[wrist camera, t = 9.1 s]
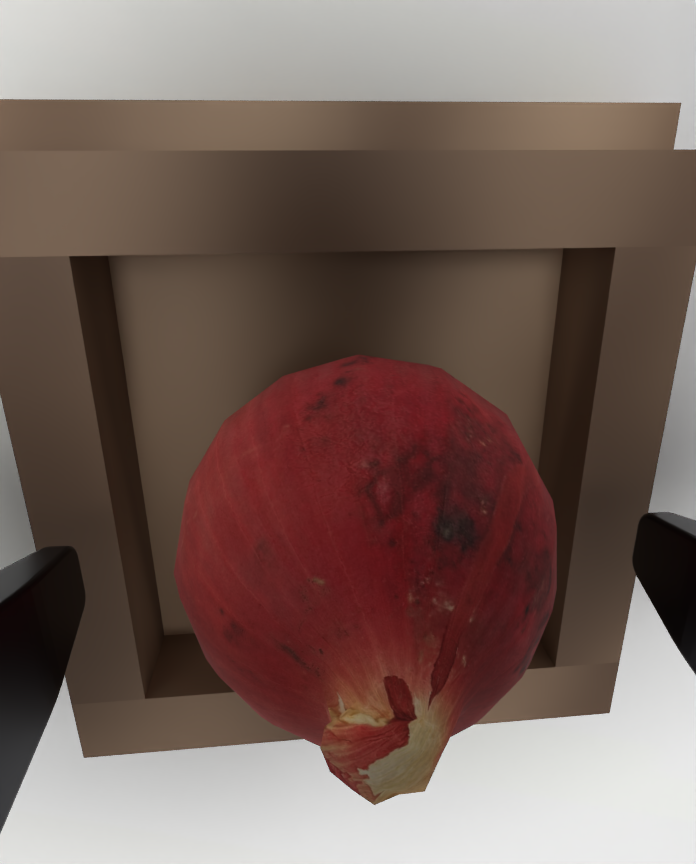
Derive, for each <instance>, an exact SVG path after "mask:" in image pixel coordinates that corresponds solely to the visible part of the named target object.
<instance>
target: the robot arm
mask: <svg viewBox="0 0 696 864" xmlns="http://www.w3.org/2000/svg"><path fill="white" fill-rule="evenodd" d="M632 564H633V568H634V571H635V573H636V575H637V577H638V579H639V581H640V582H641V584H642V586H643V588H644V589H645V591H646V593H647V595H648V597H649V598H650V600H651V602H652V604H653V606H654V607H655V609H656V611H657V613H658V614H659V616H660V618H661V620H662V622H663V623H664V625H665V627H666V629H667V630H668V632H669V634H670V636H671V638H672V639H673V641H674V643H675V644H676V646H677V648H678V649H679V651H680V652H681V654H682V655H683V657H684V658H685V660H686V661H687V663H688V664H689V666H690V667H691V669H692V670H693V672H694V673H695V674H696V521H695V520H692V519H689V518H686V517H683V516H680V515H677V514H674V513H670V512H658V513H647V514H644V515H643V516H642V517H641V518H640V520H639V523H638V528H637V533H636V539H635V544H634V550H633V555H632ZM85 599H86V595H85V588H84V583H83V578H82V573H81V568H80V563H79V558H78V554H77V552H76V550H75V548H73V547H72V546H50V547H44V548H42V549H40V550H38V551H36V552H34V553H32V554H30V555H28V556H27V557H25V558H23V559H21V560H19V561H17V562H15V563H13V564H11V565H9V566H7V567H5V568H4V569H2V570H0V833H1V831H2V828H3V826H4V824H5V821H6V819H7V817H8V814H9V812H10V810H11V807H12V805H13V802H14V800H15V798H16V795H17V793H18V791H19V788H20V786H21V784H22V781H23V779H24V777H25V774H26V772H27V769H28V767H29V765H30V762H31V760H32V758H33V755H34V753H35V751H36V748H37V746H38V743H39V741H40V739H41V736H42V734H43V732H44V729H45V727H46V725H47V722H48V720H49V718H50V715H51V713H52V710H53V708H54V705H55V703H56V700H57V697H58V694H59V691H60V688H61V685H62V682H63V679H64V675H65V672H66V668H67V665H68V662H69V658H70V655H71V651H72V648H73V645H74V641H75V638H76V635H77V631H78V628H79V624H80V621H81V618H82V614H83V611H84V607H85Z"/></svg>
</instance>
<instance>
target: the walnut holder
mask: <svg viewBox="0 0 696 864" xmlns="http://www.w3.org/2000/svg"><path fill="white" fill-rule="evenodd" d="M680 107H681V103H583V102H393V101H204V100H14V99H0V395H1V399H2V403H3V408H4V412H5V416H6V421H7V425H8V429H9V434H10V438H11V442H12V447H13V451H14V456H15V460H16V464H17V469H18V473H19V477H20V482H21V486H22V490H23V495H24V499H25V503H26V508H27V512H28V516H29V521H30V525H31V530H32V534H33V538H34V543H35V547H36V551H38V550H40V549H42V548H44V547H50V546H72V547H73V548H75V550H76V552H77V554H78V558H79V563H80V568H81V573H82V578H83V583H84V588H85V595H86V599H85V607H84V611H83V614H82V618H81V621H80V624H79V628H78V631H77V635H76V638H75V641H74V645H73V648H72V651H71V655H70V658H69V662H68V665H67V668H66V672H65V677H66V682H67V686H68V691H69V695H70V699H71V704H72V708H73V712H74V717H75V721H76V725H77V730H78V734H79V738H80V743H81V747H82V751H83V756H84V758H87V757H98V756H110V755H122V754H134V753H145V752H157V751H169V750H181V749H192V748H204V747H216V746H228V745H239V744H251V743H263V742H275V741H286V740H298V739H303V738H301V737H299V736H297V735H294V734H292V733H290V732H288V731H286V730H283V729H281V728H279V727H277V726H275V725H273V724H271V723H270V722H268V721H267V720H265V719H264V718H262V717H261V716H259V715H258V714H257V713H256V712H255V711H254V710H253V709H252V708H251V707H250V706H249V705H248V704H247V703H246V702H245V701H244V700H243V699H242V698H241V697H240V696H239V695H238V694H237V693H236V692H235V691H233V690H232V689H231V688H230V687H229V686H228V685H227V684H226V683H225V682H224V681H223V680H222V679H221V678H220V677H219V676H218V674H217V673H216V672H215V670H214V669H213V668H212V666H211V665H210V664H209V662H208V661H207V660H206V658H205V656H204V653H203V651H202V649H201V646H200V644H199V642H198V639H197V637H196V635H195V632H194V630H193V627H192V625H191V623H190V620H189V618H188V616H187V613H186V611H185V609H184V606H183V604H182V602H181V599H180V596H179V592H178V588H177V584H176V580H175V577H174V568H175V561H176V554H177V548H178V541H179V535H180V528H181V521H182V515H183V508H184V502H185V498H186V494H187V489H188V485H189V481H190V479H191V477H192V476H193V474H194V472H195V470H196V469H197V467H198V465H199V463H200V462H201V460H202V458H203V457H204V455H205V453H206V451H207V450H208V448H209V446H210V445H211V443H212V441H213V439H214V438H215V436H216V434H217V432H218V431H219V429H220V427H221V426H222V424H223V422H224V420H226V419H227V418H228V417H229V416H231V415H232V414H233V413H235V412H236V411H237V410H239V409H240V408H241V407H243V406H244V405H245V404H247V403H248V402H249V401H251V400H252V399H253V398H255V397H256V396H257V395H259V394H260V393H261V392H262V391H264V390H265V389H266V388H268V387H269V386H270V385H272V384H273V383H274V382H276V381H277V380H278V379H280V378H281V377H282V376H284V375H288V374H291V373H295V372H298V371H302V370H305V369H308V368H312V367H315V366H319V365H322V364H326V363H329V362H333V361H336V360H340V359H343V358H347V357H350V356H353V355H364V356H371V357H378V358H385V359H392V360H399V361H406V362H413V363H420V364H426V365H431V366H434V367H438V368H441V369H443V370H444V371H446V372H447V373H449V374H450V375H452V376H453V377H454V378H456V379H457V380H459V381H460V382H462V383H463V384H464V385H466V386H467V387H469V388H470V389H472V390H473V391H474V392H476V393H477V394H479V395H480V396H482V397H483V398H484V399H486V400H487V401H489V402H490V403H492V404H493V405H494V406H496V407H497V408H499V409H500V410H502V411H503V412H504V413H506V414H507V416H508V417H509V419H510V421H511V423H512V425H513V427H514V429H515V431H516V432H517V434H518V436H519V438H520V440H521V442H522V444H523V445H524V447H525V449H526V451H527V453H528V455H529V457H530V459H531V460H532V462H533V464H534V466H535V468H536V470H537V472H538V474H539V475H540V477H541V479H542V481H543V483H544V485H545V487H546V489H547V490H548V492H549V494H550V496H551V498H552V500H553V504H554V511H555V518H556V525H557V590H556V595H555V600H554V605H553V610H552V613H551V615H550V618H549V620H548V622H547V625H546V627H545V630H544V632H543V634H542V637H541V639H540V641H539V644H538V646H537V648H536V651H535V653H534V655H533V658H532V660H531V662H530V664H529V666H528V668H527V670H526V671H525V673H524V675H523V677H522V678H521V679H520V680H519V681H518V682H517V683H516V684H515V685H514V686H513V687H512V689H511V690H510V691H509V692H508V693H507V694H506V695H505V696H504V697H503V698H501V699H500V700H499V702H498V703H497V704H496V705H495V706H494V707H493V708H492V709H491V710H490V711H489V712H488V713H487V714H486V715H485V716H484V717H483V718H481V719H480V720H479V721H478V722H477V723H476V724H486V723H498V722H510V721H521V720H533V719H545V718H556V717H568V716H580V715H592V714H603V713H609V712H610V707H611V702H612V697H613V692H614V686H615V681H616V676H617V671H618V666H619V660H620V655H621V650H622V645H623V640H624V634H625V629H626V624H627V619H628V614H629V608H630V603H631V598H632V593H633V588H634V582H635V577H636V573H635V571H634V568H633V564H632V555H633V550H634V544H635V539H636V533H637V528H638V523H639V520H640V518H641V517H642V516H643V515H644V514H647V513H648V509H649V504H650V499H651V494H652V489H653V483H654V478H655V473H656V468H657V463H658V457H659V452H660V447H661V442H662V437H663V431H664V426H665V421H666V416H667V411H668V405H669V400H670V395H671V390H672V385H673V379H674V374H675V369H676V364H677V358H678V353H679V348H680V343H681V338H682V332H683V327H684V322H685V317H686V312H687V306H688V301H689V296H690V291H691V286H692V280H693V275H694V270H695V265H696V150H673V149H674V143H675V137H676V131H677V125H678V119H679V113H680Z"/></svg>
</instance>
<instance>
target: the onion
mask: <svg viewBox="0 0 696 864" xmlns="http://www.w3.org/2000/svg"><path fill="white" fill-rule="evenodd" d="M174 577H175V580H176V584H177V588H178V592H179V596H180V599H181V602H182V604H183V606H184V609H185V611H186V613H187V616H188V618H189V620H190V623H191V625H192V627H193V630H194V632H195V635H196V637H197V639H198V642H199V644H200V646H201V649H202V651H203V653H204V656H205V658H206V660H207V661H208V662H209V664H210V665H211V666H212V668H213V669H214V670H215V672H216V673H217V674H218V676H219V677H220V678H221V679H222V680H223V681H224V682H225V683H226V684H227V685H228V686H229V687H230V688H231V689H232V690H233V691H235V692H236V693H237V694H238V695H239V696H240V697H241V698H242V699H243V700H244V701H245V702H246V703H247V704H248V705H249V706H250V707H251V708H252V709H253V710H254V711H255V712H256V713H257V714H258V715H259V716H261V717H262V718H264V719H265V720H267V721H268V722H270V723H271V724H273V725H275V726H277V727H279V728H281V729H283V730H286V731H288V732H290V733H292V734H294V735H297V736H299V737H301V738H303V739H305V740H307V741H310V742H312V743H314V744H316V745H318V746H321V747H320V748H321V751H322V753H323V755H324V758H325V760H326V763H327V765H328V767H329V770H330V772H331V773H333V774H334V775H335V776H336V777H337V778H339V779H340V780H341V781H342V782H343V783H345V784H346V785H347V786H348V787H350V788H351V789H352V790H353V791H355V792H356V793H358V794H359V795H361V796H362V797H364V798H365V799H366V800H368V801H369V802H371V803H372V804H374V805H375V804H378V803H380V802H382V801H385V800H387V799H389V798H392V797H394V796H396V795H399V794H407V793H415V792H423V791H425V789H426V787H427V785H428V783H429V781H430V778H431V776H432V774H433V772H434V770H435V767H436V765H437V763H438V761H439V759H440V757H441V754H442V752H443V750H444V748H445V746H446V745H447V743H448V741H449V738H450V737H451V736H453V735H455V734H457V733H459V732H461V731H463V730H464V729H466V728H468V727H470V726H472V725H474V724H476V723H477V722H478V721H479V720H480V719H481V718H483V717H484V716H485V715H486V714H487V713H488V712H489V711H490V710H491V709H492V708H493V707H494V706H495V705H496V704H497V703H498V702H499V700H500V699H501V698H503V697H504V696H505V695H506V694H507V693H508V692H509V691H510V690H511V689H512V687H513V686H514V685H515V684H516V683H517V682H518V681H519V680H520V679H521V678H522V677H523V675H524V673H525V671H526V670H527V668H528V666H529V664H530V662H531V660H532V658H533V655H534V653H535V651H536V648H537V646H538V644H539V641H540V639H541V637H542V634H543V632H544V630H545V627H546V625H547V622H548V620H549V618H550V615H551V613H552V610H553V605H554V600H555V595H556V590H557V525H556V518H555V511H554V504H553V500H552V498H551V496H550V494H549V492H548V490H547V489H546V487H545V485H544V483H543V481H542V479H541V477H540V475H539V474H538V472H537V470H536V468H535V466H534V464H533V462H532V460H531V459H530V457H529V455H528V453H527V451H526V449H525V447H524V445H523V444H522V442H521V440H520V438H519V436H518V434H517V432H516V431H515V429H514V427H513V425H512V423H511V421H510V419H509V417H508V416H507V414H506V413H504V412H503V411H502V410H500V409H499V408H497V407H496V406H494V405H493V404H492V403H490V402H489V401H487V400H486V399H484V398H483V397H482V396H480V395H479V394H477V393H476V392H474V391H473V390H472V389H470V388H469V387H467V386H466V385H464V384H463V383H462V382H460V381H459V380H457V379H456V378H454V377H453V376H452V375H450V374H449V373H447V372H446V371H444V370H443V369H441V368H438V367H434V366H431V365H426V364H420V363H413V362H406V361H399V360H392V359H385V358H378V357H371V356H364V355H353V356H350V357H347V358H343V359H340V360H336V361H333V362H329V363H326V364H322V365H319V366H315V367H312V368H308V369H305V370H302V371H298V372H295V373H291V374H288V375H284V376H282V377H281V378H280V379H278V380H277V381H276V382H274V383H273V384H272V385H270V386H269V387H268V388H266V389H265V390H264V391H262V392H261V393H260V394H259V395H257V396H256V397H255V398H253V399H252V400H251V401H249V402H248V403H247V404H245V405H244V406H243V407H241V408H240V409H239V410H237V411H236V412H235V413H233V414H232V415H231V416H229V417H228V418H227V419H226V420H224V422H223V424H222V426H221V427H220V429H219V431H218V432H217V434H216V436H215V438H214V439H213V441H212V443H211V445H210V446H209V448H208V450H207V451H206V453H205V455H204V457H203V458H202V460H201V462H200V463H199V465H198V467H197V469H196V470H195V472H194V474H193V476H192V477H191V479H190V481H189V485H188V489H187V494H186V498H185V502H184V508H183V515H182V521H181V528H180V535H179V541H178V548H177V554H176V561H175V568H174Z"/></svg>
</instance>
